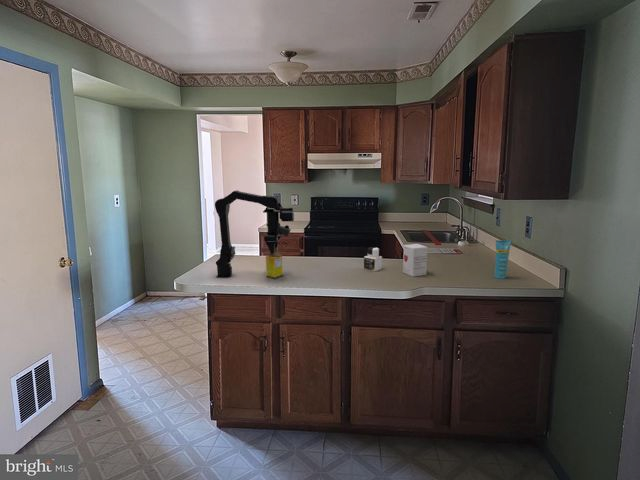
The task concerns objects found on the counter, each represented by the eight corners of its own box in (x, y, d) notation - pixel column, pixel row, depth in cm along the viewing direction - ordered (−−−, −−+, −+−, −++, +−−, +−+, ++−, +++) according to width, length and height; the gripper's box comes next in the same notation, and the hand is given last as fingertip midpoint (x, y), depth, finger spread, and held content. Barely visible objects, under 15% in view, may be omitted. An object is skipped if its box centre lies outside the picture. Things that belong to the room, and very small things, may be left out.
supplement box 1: (274, 274, 214) (274, 253, 212) (282, 276, 210) (282, 255, 208) (266, 276, 209) (265, 256, 207) (274, 279, 206) (273, 257, 203)
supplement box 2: (402, 272, 216) (403, 244, 214) (416, 270, 220) (417, 243, 217) (412, 277, 208) (413, 248, 205) (426, 275, 212) (428, 246, 209)
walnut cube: (269, 256, 206) (269, 248, 205) (270, 254, 210) (270, 247, 209) (277, 256, 206) (277, 249, 205) (278, 254, 209) (278, 247, 209)
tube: (495, 279, 204) (498, 241, 200) (490, 276, 209) (493, 239, 205) (509, 278, 204) (513, 241, 201) (505, 276, 209) (508, 239, 205)
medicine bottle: (363, 269, 223) (363, 247, 221) (371, 266, 228) (371, 245, 226) (374, 271, 218) (374, 249, 216) (382, 269, 223) (382, 247, 221)
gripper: (286, 224, 195) (287, 256, 198) (291, 218, 213) (292, 248, 216) (263, 224, 195) (264, 256, 198) (270, 218, 213) (271, 247, 217)
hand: (274, 251), depth 207 cm, fingers open, 9 cm apart
